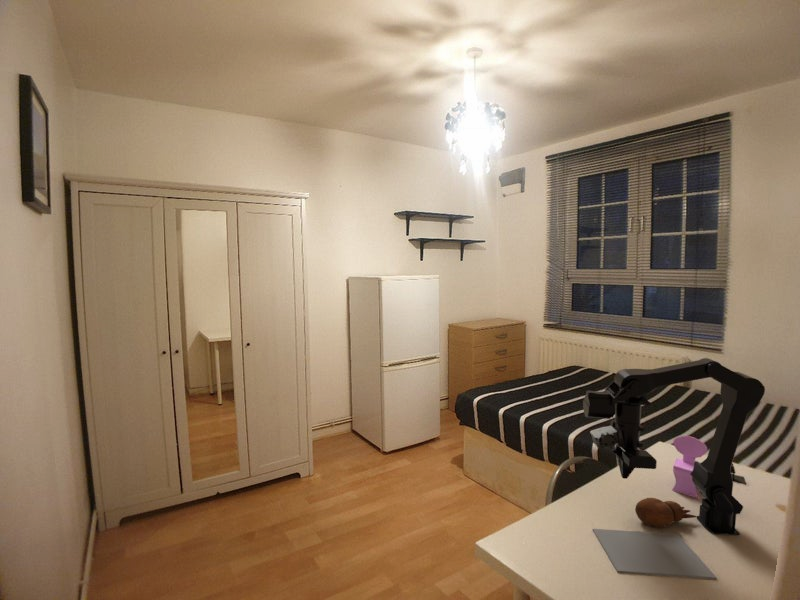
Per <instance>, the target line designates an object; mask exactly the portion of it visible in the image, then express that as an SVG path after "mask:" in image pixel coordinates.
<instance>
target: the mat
mask: <svg viewBox="0 0 800 600" xmlns="http://www.w3.org/2000/svg"><path fill="white" fill-rule="evenodd" d="M592 532H593V534H594V535H595V537H596V538H597V541H598V542H599V543H600V545H601V547H602V549H603V551H604V552H605V554H606V556H607V557H608V559H609V560H610V562H611V564H612V566H613V568H614V569H615V571H616V572H617V573H619V574H633V575H634V574H635V575H648V576H649V575H651V576H661V577H662V576H665V577H666V576H667V577H679V578H681V577H682V578H691V579H706V580H707V579H709V580H718V578H717V575H715V574H714V572H713V571H712V570H711V569H710V568H709V567H708V566H707V565H706V563H704V561H703V560H702V559H701V558H700V556H698V555H697V554H696V552H695V551H694V550H693V549H692V548H691V547H690V546H689V544H688V543H687V542H686V541H685V540H684V539H683V538H682V537H681V536H680V535H679V534H678V533H669V532H655V531H654V532H653V531H652V532H651V531H637V530H636V531H634V530H621V529H620V530H619V529H618V530H617V529H605V528H603V529H601V528H592Z"/></svg>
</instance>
